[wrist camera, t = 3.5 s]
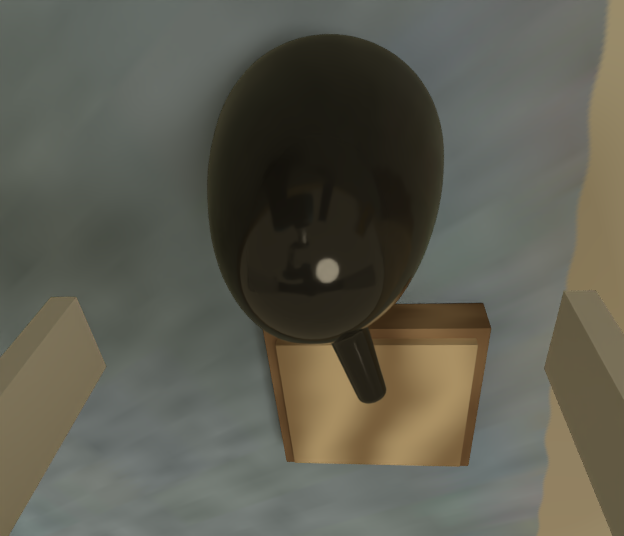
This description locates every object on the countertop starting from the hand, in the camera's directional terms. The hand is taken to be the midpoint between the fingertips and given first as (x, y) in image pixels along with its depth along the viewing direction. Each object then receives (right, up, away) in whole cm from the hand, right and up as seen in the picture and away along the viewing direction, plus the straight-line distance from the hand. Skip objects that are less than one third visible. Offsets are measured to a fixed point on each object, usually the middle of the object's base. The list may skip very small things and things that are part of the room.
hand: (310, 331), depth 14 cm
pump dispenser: (+1, +9, +13) cm, 16 cm away
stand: (+5, -6, +23) cm, 24 cm away
